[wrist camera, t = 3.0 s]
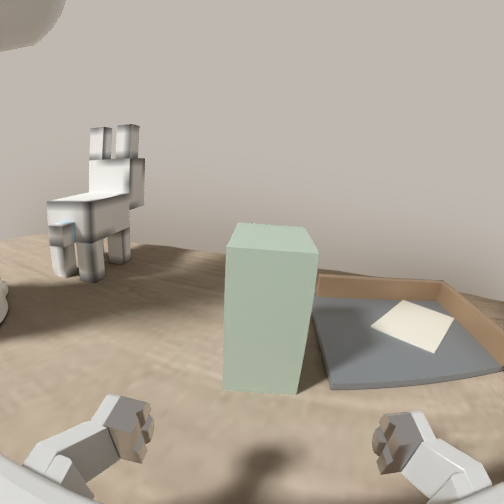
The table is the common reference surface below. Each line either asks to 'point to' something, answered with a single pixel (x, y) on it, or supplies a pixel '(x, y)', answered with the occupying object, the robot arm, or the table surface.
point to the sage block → (267, 307)
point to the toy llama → (99, 208)
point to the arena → (401, 333)
